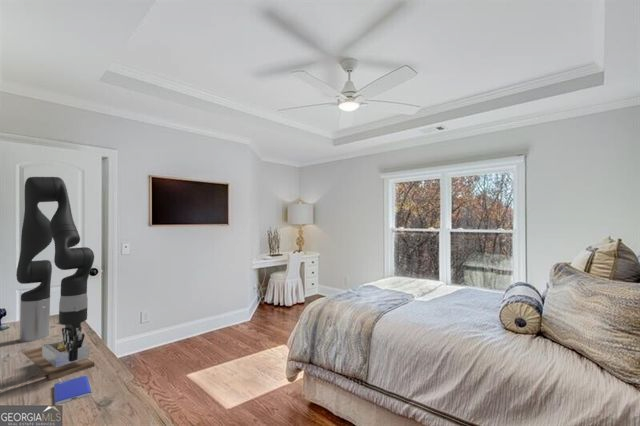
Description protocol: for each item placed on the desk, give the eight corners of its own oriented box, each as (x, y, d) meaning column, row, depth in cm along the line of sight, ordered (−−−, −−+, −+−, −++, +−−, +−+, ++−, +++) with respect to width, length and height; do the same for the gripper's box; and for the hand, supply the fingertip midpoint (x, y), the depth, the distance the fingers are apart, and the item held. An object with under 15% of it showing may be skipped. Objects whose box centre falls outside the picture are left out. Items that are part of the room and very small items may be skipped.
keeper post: (55, 361, 110) (55, 343, 110) (66, 358, 113) (67, 340, 113) (58, 364, 108) (59, 345, 108) (70, 360, 111) (70, 342, 111)
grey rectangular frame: (42, 356, 109) (42, 344, 109) (73, 348, 117) (73, 337, 117) (55, 367, 101) (56, 354, 101) (88, 357, 109) (89, 345, 109)
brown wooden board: (21, 355, 118) (22, 351, 118) (61, 344, 128) (61, 341, 128) (50, 380, 100) (50, 376, 100) (94, 366, 110) (94, 362, 110)
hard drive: (54, 383, 96) (55, 401, 87) (87, 375, 101) (91, 391, 92) (53, 388, 96) (55, 407, 87) (87, 379, 101) (91, 396, 92)
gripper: (52, 306, 107) (51, 358, 106) (67, 313, 99) (65, 369, 98) (79, 302, 113) (77, 351, 112) (94, 308, 105) (93, 361, 105)
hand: (72, 359), depth 105 cm, fingers closed on grey rectangular frame, 1 cm apart
